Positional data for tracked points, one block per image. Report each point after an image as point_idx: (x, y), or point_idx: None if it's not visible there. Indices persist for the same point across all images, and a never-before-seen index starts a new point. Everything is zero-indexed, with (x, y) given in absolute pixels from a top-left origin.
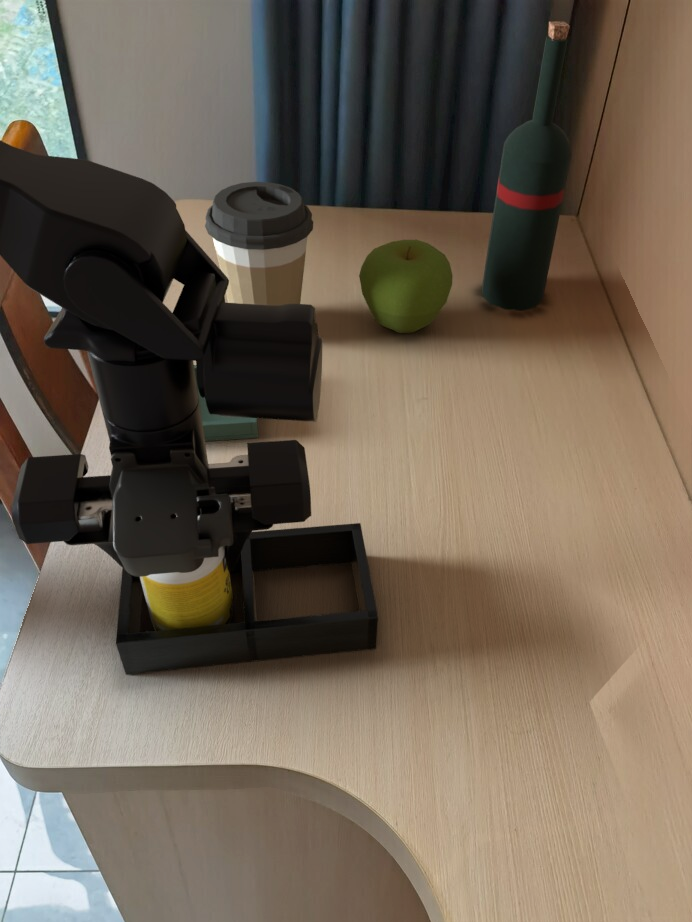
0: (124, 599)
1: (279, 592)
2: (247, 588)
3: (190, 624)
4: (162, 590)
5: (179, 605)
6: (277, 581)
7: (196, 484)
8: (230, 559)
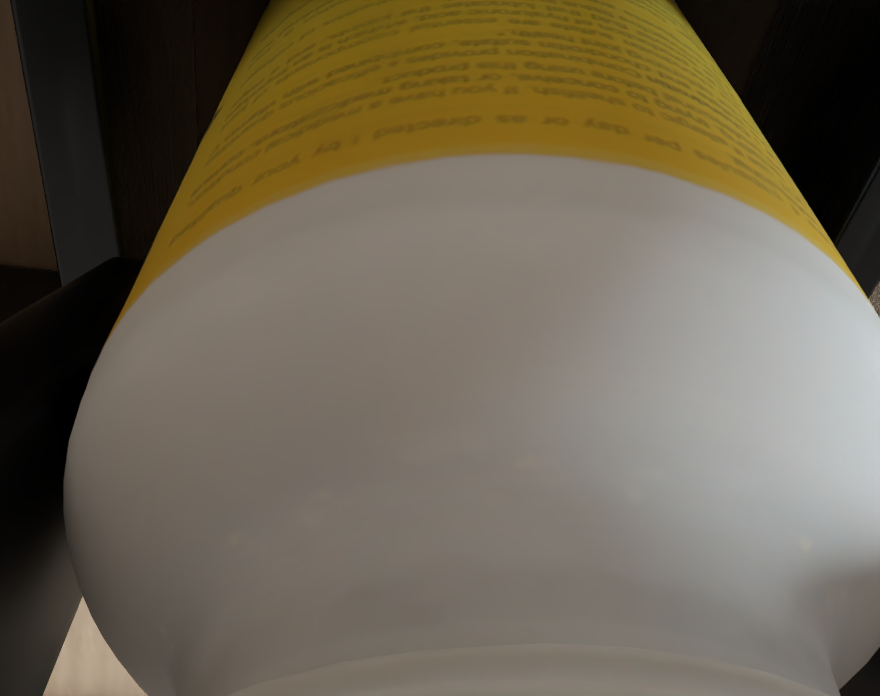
0: (876, 233)
1: (24, 140)
2: (67, 117)
3: None
4: (753, 161)
5: (591, 26)
6: (41, 205)
7: None
8: (56, 341)
